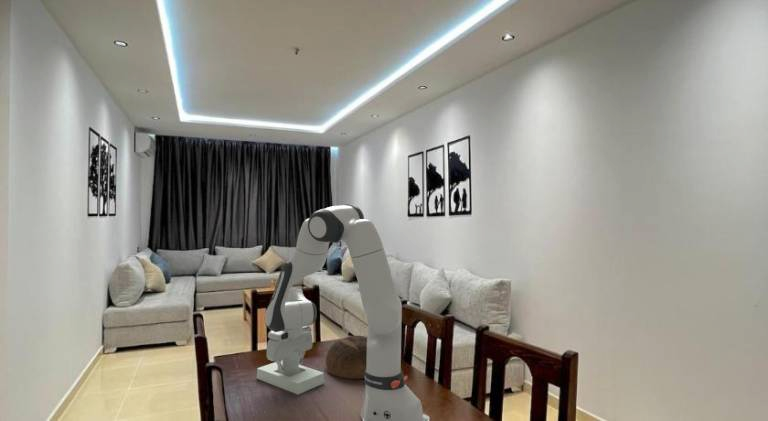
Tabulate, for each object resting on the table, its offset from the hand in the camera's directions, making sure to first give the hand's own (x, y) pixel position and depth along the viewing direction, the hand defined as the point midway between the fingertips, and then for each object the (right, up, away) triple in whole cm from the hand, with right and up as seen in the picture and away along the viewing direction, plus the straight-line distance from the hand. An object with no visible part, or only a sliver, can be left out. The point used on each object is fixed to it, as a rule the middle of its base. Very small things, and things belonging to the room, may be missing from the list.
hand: (290, 366), depth 167 cm
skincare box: (0, -6, 0) cm, 6 cm away
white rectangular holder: (0, -6, 0) cm, 6 cm away
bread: (+25, -7, +14) cm, 29 cm away
